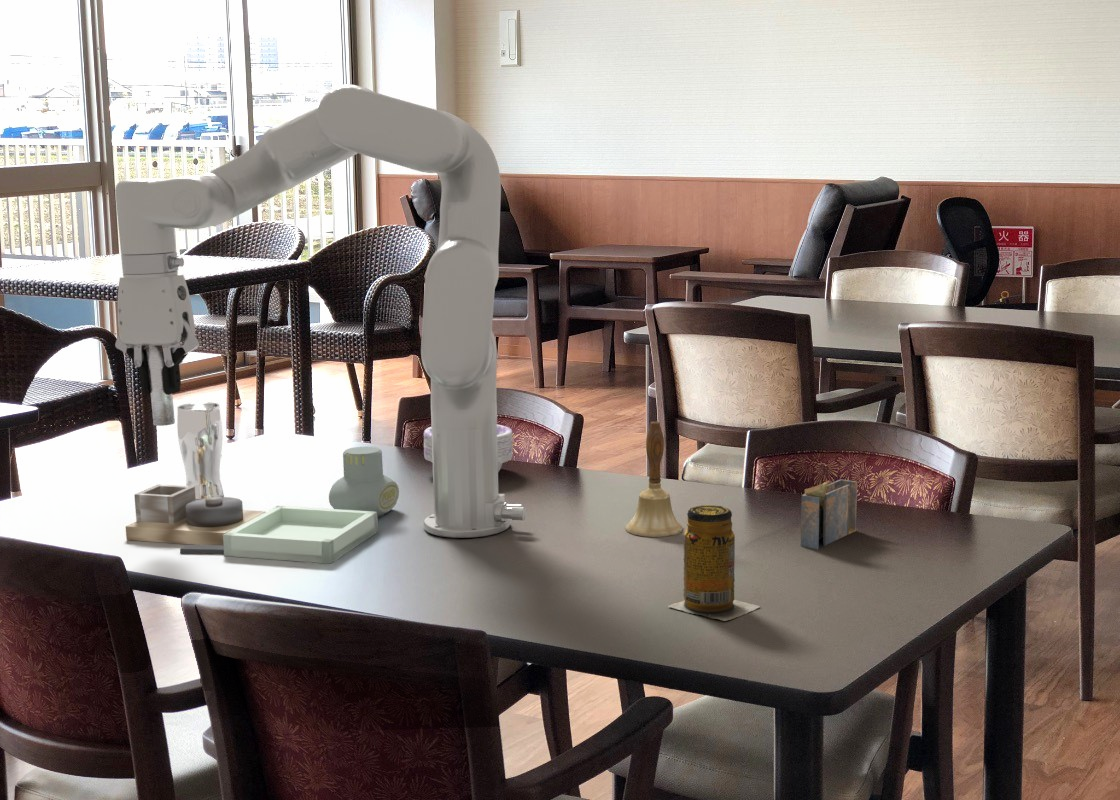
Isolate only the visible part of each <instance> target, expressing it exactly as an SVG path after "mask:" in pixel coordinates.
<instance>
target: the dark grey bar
mask: <svg viewBox="0 0 1120 800" xmlns="http://www.w3.org/2000/svg"><path fill="white" fill-rule="evenodd" d="M179 552H180V554H205V555H206V554H211V555H213V554H214V555H215V554H219V555H222V554H223V555H224V545H193V544H184V545H183V546H182V547H181V548H179Z"/></svg>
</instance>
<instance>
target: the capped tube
mask: <svg viewBox="0 0 1120 800" xmlns="http://www.w3.org/2000/svg"><path fill="white" fill-rule="evenodd" d="M146 349H147V360H148V370H149V381H150V392H151V393H150V401H151V410H152V413H151V414H152V420H153V421H152V422H153V426H156V427H158V426H161V427H162V426H163V427H164V426H171V425H173V424H175V423H176V422H175V421H176V420H175V419H176V418H175V409H174V408H175V407H174V399H173V398H174V397H173V394H170V395H168V394H165V393H164V383H163V372H162V369H163V367H166V364H165V359H164V353H163V348H162V345H146Z"/></svg>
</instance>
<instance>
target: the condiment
mask: <svg viewBox="0 0 1120 800" xmlns="http://www.w3.org/2000/svg"><path fill="white" fill-rule="evenodd" d="M686 515H687V522H686V526H687V528H686V530H685V532H684V535H683V538H684V539H683V599H684V600H682V601H679V602H675V603H671V604H669V605H668V606H667V607H668V608H672V609H675V610H679V611H683V612H685V613H690V614H692V615H693V614H695V615H699V616H700V615H701V616H702V617H708V618H710V619H715V620H720V621H723V622H726V621H731V620H733V619H735V618H739V617H742V616H744V615H747V614H748V613H750V612H753V611H755V610H757V609H759V608H761V606H759V605H757V604H754V603H753V604H751V603H749V602H745V601H741V600H736V599H735V555H736V553H735V550H736V549H735V547H736V545H735V544H736V543H735V541H736V540H735V539H736V537H735V535H736V534H735V533H734V531H733V530H732V529H733V522H732V516H733V514H732V511H731V510H730V509H729V508H727V507H725V506H721V505H709V504H706V505H703V504H702V505H697V506H693V507H690V509H688V511H687V513H686Z"/></svg>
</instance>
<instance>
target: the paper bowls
mask: <svg viewBox="0 0 1120 800" xmlns="http://www.w3.org/2000/svg"><path fill="white" fill-rule="evenodd" d="M513 434H514V433H513V429H511V427H508V426H506V425H502V424H499V423H497V455H498V473H499V472H500V470H501V469H502V467H503V463H507V462H509V461H511V460H512V458H513V455H514V454H513V453H514V451H513V450H514V449H513V448H514V447H513V445H514V444H513V443H514V441H513V440H514V439H513V438H514V437H513ZM423 456H424V459H425V460H426V461H428V462H430V463H433V462H432V432H431V426H430V427H426V429H424V431H423Z"/></svg>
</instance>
